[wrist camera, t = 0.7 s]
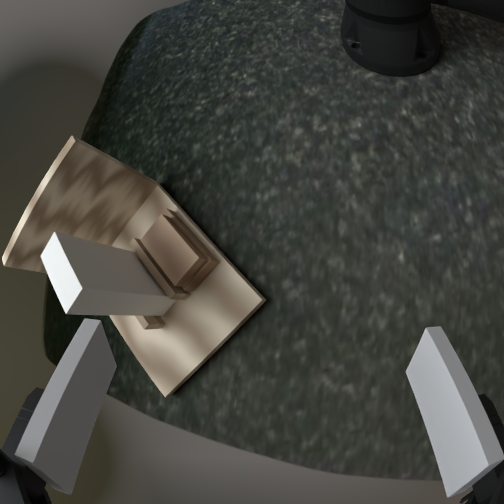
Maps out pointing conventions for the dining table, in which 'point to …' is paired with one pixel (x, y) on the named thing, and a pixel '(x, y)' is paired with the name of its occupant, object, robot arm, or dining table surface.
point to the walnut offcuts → (178, 251)
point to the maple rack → (128, 237)
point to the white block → (101, 279)
